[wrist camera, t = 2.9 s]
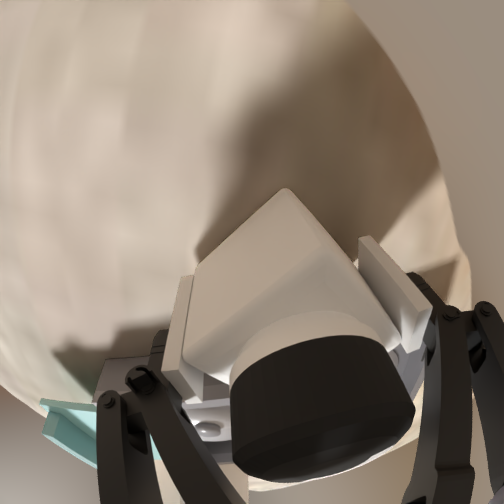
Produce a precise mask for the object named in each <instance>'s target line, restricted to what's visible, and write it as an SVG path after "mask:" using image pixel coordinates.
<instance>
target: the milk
mask: <svg viewBox="0 0 504 504" xmlns="http://www.w3.org/2000/svg"><path fill="white" fill-rule="evenodd" d="M154 463H155V468H156V473H157V478H158V483H159V488H160V492H161V497H162V501H163V504H185V502H184V501H183V499H182V497H181V496H180V494H179V492H178V490H177V488H176V487H175V485H174V483H173V481H172V479H171V477H170V475H169V473H168V471H167V469H166V467H165V465H164V463H163V461H162V460H154ZM219 467H220V468H221V470H222V471H223V473H224V474H225V476H226V477H227V478H228V480H229V481H230V483H231V484H232V485H233V487H234V488H235V489H236V491H237V492H238V493H239V495H240V496H241V497H242V499H243V500H244V501H245V502H246V504H249V494H248V475H247V474H245V473H244V472H243V471H242V470H241V469H239V468H238V467H237V466H236V465H235V464H224V465H219Z"/></svg>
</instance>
